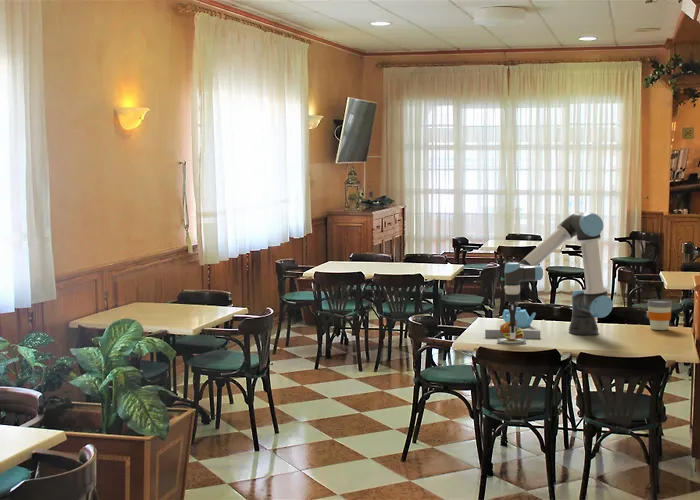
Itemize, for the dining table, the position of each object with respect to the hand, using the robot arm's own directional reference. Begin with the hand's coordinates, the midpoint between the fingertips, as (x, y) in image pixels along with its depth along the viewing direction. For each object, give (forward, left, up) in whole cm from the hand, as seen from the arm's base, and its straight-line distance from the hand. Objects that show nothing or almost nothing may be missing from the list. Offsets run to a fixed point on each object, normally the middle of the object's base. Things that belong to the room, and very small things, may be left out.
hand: (512, 337), depth 418 cm
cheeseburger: (-1, 0, -2) cm, 2 cm away
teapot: (-3, -47, -3) cm, 47 cm away
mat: (+1, 0, -2) cm, 2 cm away
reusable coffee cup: (-78, -47, -3) cm, 91 cm away
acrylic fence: (0, -11, -2) cm, 11 cm away
